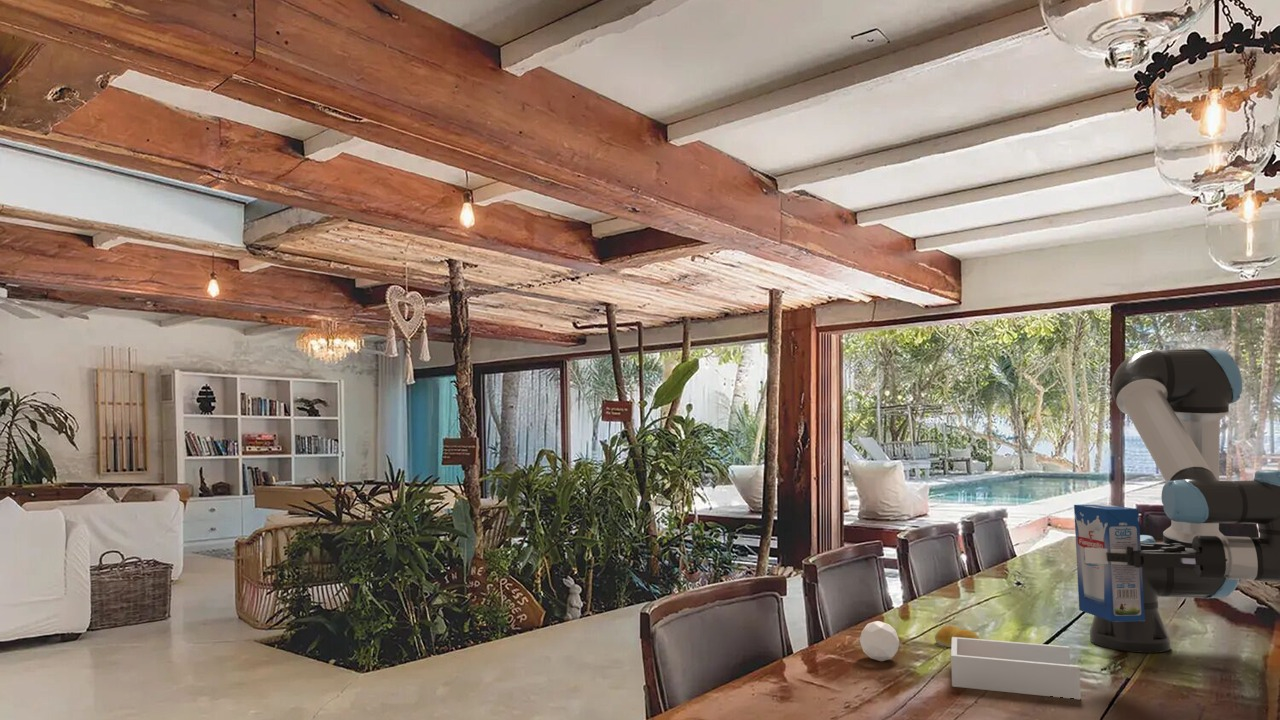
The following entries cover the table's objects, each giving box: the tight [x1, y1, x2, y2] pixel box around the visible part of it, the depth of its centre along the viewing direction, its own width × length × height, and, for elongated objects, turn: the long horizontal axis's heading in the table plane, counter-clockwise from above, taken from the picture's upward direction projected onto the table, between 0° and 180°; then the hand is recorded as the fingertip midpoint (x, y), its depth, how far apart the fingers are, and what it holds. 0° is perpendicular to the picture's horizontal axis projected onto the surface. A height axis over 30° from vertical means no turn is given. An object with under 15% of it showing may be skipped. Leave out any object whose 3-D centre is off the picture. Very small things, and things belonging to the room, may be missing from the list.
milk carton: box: [1073, 503, 1145, 622], centre depth 154 cm, size 10×6×20 cm, turn 4°
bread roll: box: [934, 625, 980, 648], centre depth 181 cm, size 8×9×4 cm
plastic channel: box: [950, 637, 1082, 700], centre depth 154 cm, size 21×15×6 cm
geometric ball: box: [859, 620, 900, 662], centre depth 169 cm, size 8×8×8 cm
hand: (1081, 551), depth 155 cm, fingers closed on milk carton, 10 cm apart
